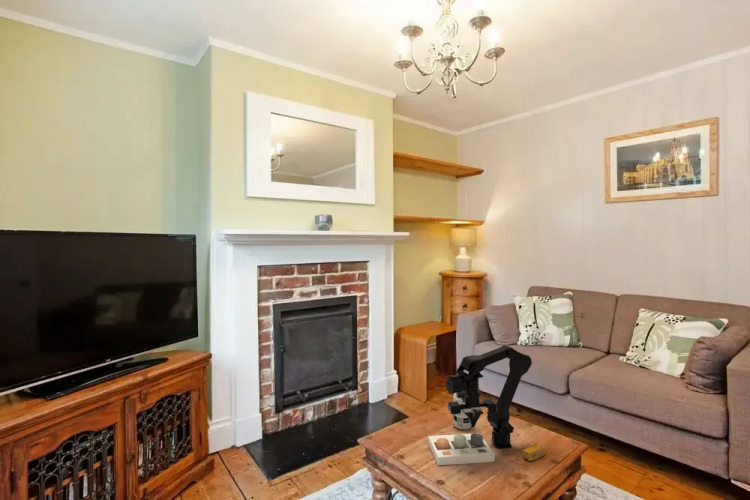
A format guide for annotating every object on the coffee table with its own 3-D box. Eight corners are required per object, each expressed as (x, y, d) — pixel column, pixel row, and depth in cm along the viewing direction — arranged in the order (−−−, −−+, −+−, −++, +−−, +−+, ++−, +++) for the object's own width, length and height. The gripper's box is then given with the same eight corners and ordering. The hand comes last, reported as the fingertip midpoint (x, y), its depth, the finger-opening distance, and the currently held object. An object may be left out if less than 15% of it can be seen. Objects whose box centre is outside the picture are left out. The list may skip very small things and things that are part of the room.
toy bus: (545, 455, 151) (545, 446, 151) (528, 463, 146) (528, 453, 146) (538, 451, 154) (538, 442, 154) (522, 459, 149) (521, 449, 149)
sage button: (463, 441, 156) (463, 433, 156) (467, 447, 152) (467, 440, 152) (452, 441, 156) (452, 434, 156) (455, 448, 151) (455, 440, 151)
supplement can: (453, 421, 180) (452, 389, 180) (471, 422, 179) (470, 390, 179) (454, 429, 172) (453, 396, 172) (473, 430, 171) (472, 397, 171)
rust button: (447, 445, 156) (446, 437, 156) (450, 451, 151) (450, 443, 151) (435, 445, 155) (435, 438, 155) (438, 452, 151) (438, 444, 151)
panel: (479, 440, 163) (479, 432, 163) (494, 461, 147) (494, 453, 147) (428, 443, 161) (428, 435, 161) (438, 465, 145) (438, 457, 145)
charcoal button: (480, 440, 157) (480, 432, 157) (484, 446, 152) (484, 438, 152) (469, 440, 157) (469, 433, 157) (473, 447, 152) (473, 439, 152)
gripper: (486, 380, 163) (487, 416, 163) (443, 383, 161) (444, 419, 162) (497, 390, 151) (498, 429, 152) (450, 393, 150) (452, 433, 151)
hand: (472, 427), depth 154 cm, fingers closed
